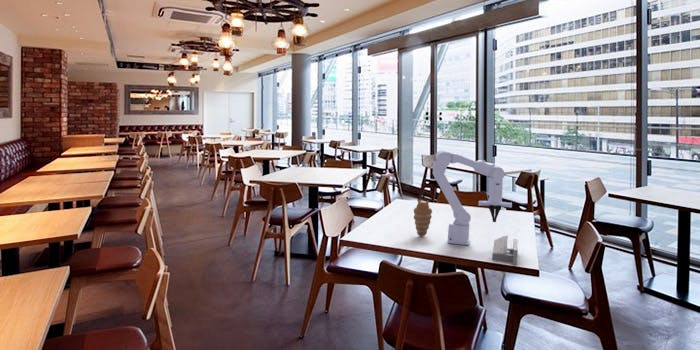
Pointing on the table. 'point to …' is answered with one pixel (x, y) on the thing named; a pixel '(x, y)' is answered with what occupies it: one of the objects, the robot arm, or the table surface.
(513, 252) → the socket bay
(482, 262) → the table surface
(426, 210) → the cat ice cream
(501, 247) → the white wedge bracket
